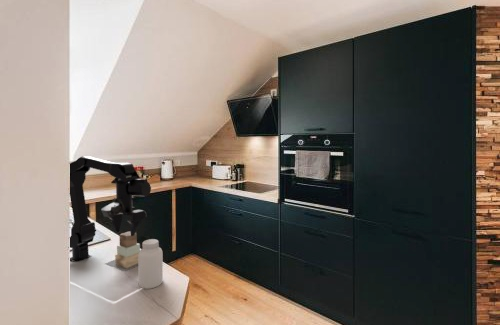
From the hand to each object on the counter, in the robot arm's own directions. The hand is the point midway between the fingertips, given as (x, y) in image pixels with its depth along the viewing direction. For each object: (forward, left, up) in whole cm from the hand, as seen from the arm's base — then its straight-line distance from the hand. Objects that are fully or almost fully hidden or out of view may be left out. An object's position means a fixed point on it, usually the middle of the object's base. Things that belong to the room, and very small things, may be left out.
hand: (125, 233), depth 109 cm
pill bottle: (+20, -5, -13) cm, 24 cm away
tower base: (0, +1, -12) cm, 12 cm away
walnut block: (0, +1, -5) cm, 5 cm away
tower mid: (0, +1, -8) cm, 8 cm away
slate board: (-1, +1, -13) cm, 13 cm away
